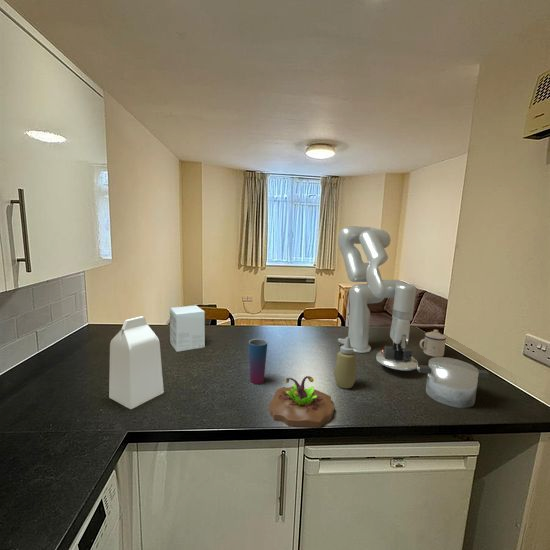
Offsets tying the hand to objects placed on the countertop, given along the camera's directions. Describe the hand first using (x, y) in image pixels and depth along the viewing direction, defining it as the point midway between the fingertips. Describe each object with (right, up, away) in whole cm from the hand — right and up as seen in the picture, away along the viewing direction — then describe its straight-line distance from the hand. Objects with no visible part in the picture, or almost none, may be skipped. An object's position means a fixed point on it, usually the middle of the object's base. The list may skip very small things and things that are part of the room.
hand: (397, 357), depth 127 cm
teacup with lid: (+24, -4, +20) cm, 31 cm away
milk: (-95, -6, -25) cm, 99 cm away
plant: (-42, -9, -29) cm, 52 cm away
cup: (-57, -6, -12) cm, 58 cm away
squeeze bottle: (-25, -7, -13) cm, 29 cm away
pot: (+11, -9, -18) cm, 23 cm away
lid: (0, -2, 0) cm, 2 cm away
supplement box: (-92, 0, +21) cm, 94 cm away
